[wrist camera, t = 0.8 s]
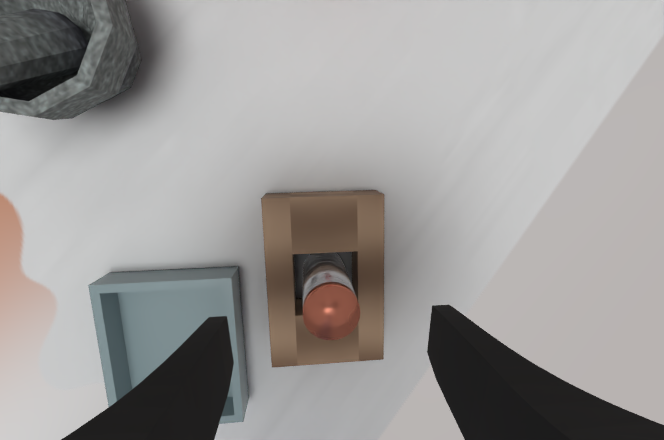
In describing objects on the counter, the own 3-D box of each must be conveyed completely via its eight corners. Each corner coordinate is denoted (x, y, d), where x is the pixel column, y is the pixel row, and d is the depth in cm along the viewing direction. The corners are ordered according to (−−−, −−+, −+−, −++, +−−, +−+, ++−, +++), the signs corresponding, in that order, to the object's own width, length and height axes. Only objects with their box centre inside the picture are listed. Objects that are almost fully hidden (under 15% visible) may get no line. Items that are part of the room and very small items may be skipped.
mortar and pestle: (42, -65, 21) (-307, -361, 9) (189, 15, 22) (59, -147, 10) (-16, 107, 22) (-382, 50, 10) (126, 171, 23) (-52, 186, 12)
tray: (248, 397, 27) (243, 421, 25) (130, 407, 27) (113, 432, 24) (238, 266, 25) (231, 277, 23) (109, 272, 25) (88, 285, 22)
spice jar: (344, 287, 26) (360, 338, 19) (303, 290, 26) (303, 342, 19) (343, 248, 26) (360, 284, 18) (301, 250, 26) (301, 288, 18)
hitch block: (374, 337, 27) (383, 359, 24) (275, 344, 27) (271, 367, 24) (374, 189, 25) (384, 194, 22) (266, 193, 24) (261, 198, 22)
